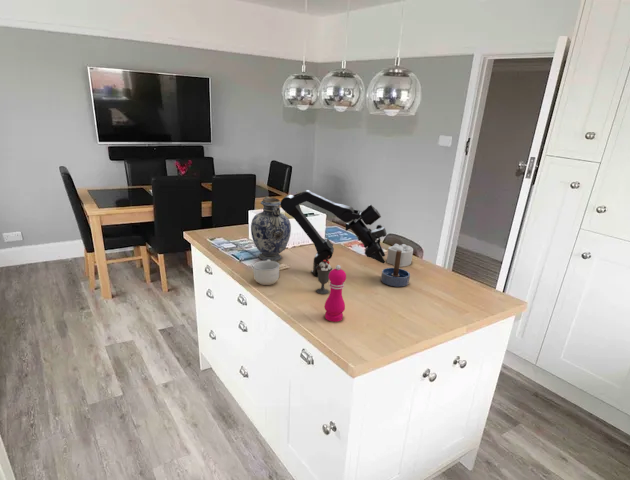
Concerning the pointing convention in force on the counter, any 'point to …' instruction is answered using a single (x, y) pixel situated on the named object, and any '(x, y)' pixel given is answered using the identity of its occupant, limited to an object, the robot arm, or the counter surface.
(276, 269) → the teacup
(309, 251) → the counter surface
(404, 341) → the counter surface
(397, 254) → the stirring stick
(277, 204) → the decorative vase
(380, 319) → the counter surface
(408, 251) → the lumpy-topped squat cylinder
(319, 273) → the sundae
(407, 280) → the bowl
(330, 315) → the pepper mill
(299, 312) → the counter surface
